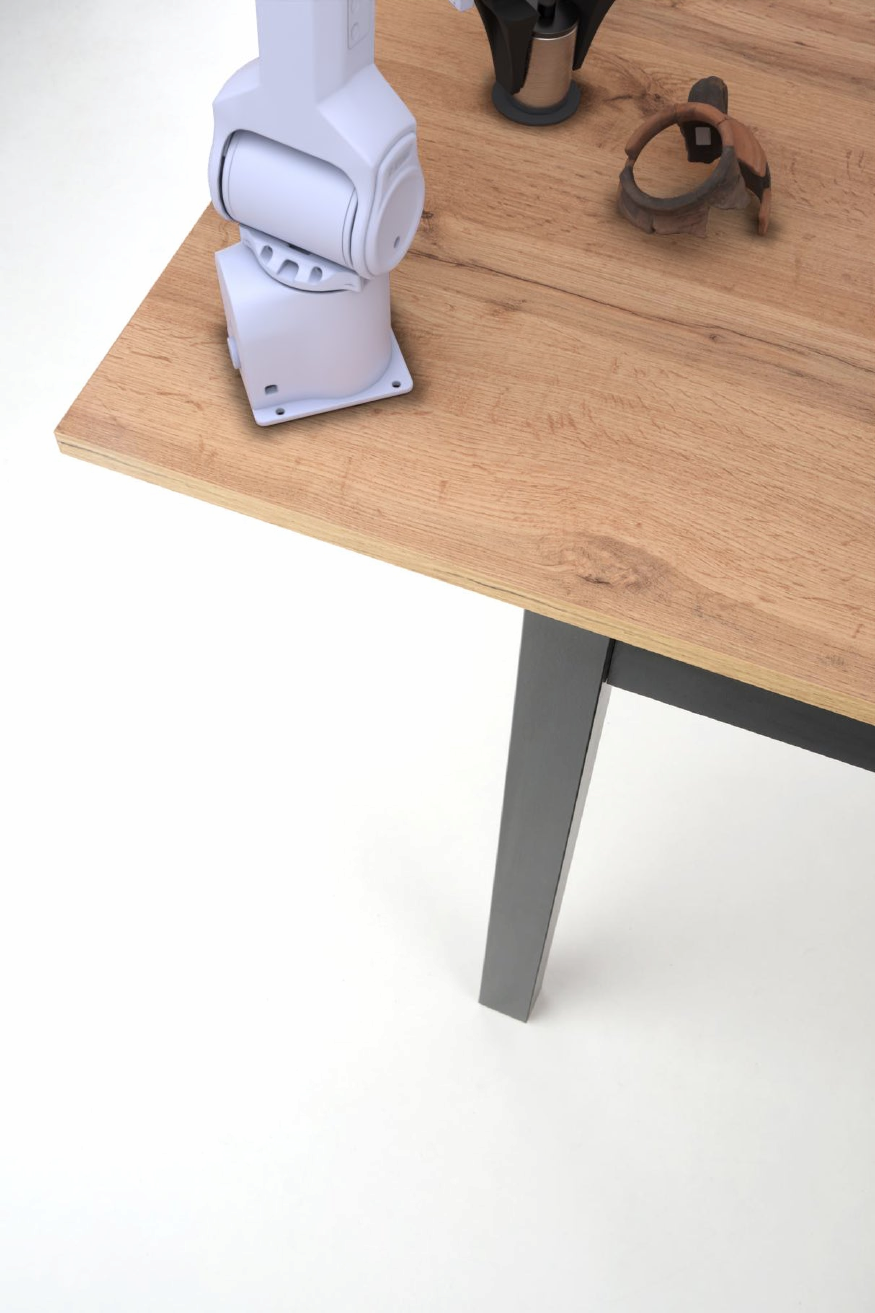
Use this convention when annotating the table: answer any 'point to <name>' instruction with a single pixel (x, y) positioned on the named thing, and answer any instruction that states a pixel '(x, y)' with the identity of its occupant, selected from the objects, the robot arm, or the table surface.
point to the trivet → (535, 119)
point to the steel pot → (548, 58)
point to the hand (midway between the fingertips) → (538, 73)
